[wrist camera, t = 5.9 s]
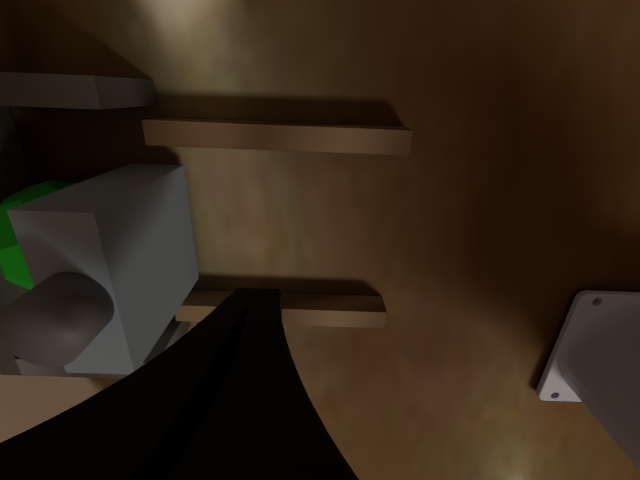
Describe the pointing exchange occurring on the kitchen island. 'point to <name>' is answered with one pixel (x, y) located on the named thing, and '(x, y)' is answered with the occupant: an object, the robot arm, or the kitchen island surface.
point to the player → (102, 269)
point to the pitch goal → (115, 92)
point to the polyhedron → (3, 245)
